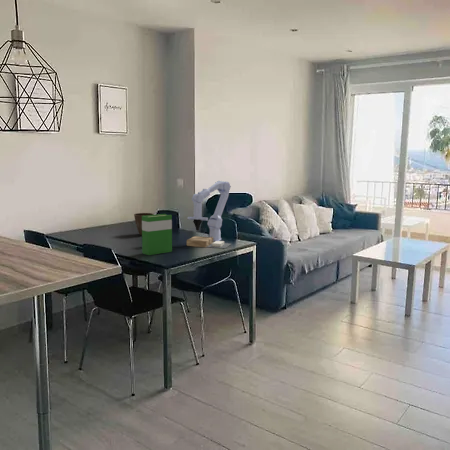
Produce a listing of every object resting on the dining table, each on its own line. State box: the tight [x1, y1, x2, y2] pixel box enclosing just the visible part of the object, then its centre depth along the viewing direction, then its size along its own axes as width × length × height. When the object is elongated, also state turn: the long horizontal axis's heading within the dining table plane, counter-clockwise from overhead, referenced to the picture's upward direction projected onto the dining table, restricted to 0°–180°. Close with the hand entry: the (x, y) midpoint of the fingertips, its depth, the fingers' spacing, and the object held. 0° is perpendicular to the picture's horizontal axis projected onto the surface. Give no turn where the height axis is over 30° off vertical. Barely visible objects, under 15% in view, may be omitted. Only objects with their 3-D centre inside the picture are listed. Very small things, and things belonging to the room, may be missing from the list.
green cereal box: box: [141, 213, 173, 256], centre depth 303 cm, size 18×7×24 cm, turn 130°
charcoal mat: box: [206, 242, 232, 250], centre depth 328 cm, size 16×13×1 cm
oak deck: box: [186, 235, 214, 248], centre depth 332 cm, size 16×14×4 cm
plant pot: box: [133, 212, 155, 236], centre depth 367 cm, size 15×15×16 cm
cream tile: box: [212, 240, 225, 247], centre depth 327 cm, size 9×6×2 cm, turn 163°
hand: (197, 230), depth 334 cm, fingers closed
